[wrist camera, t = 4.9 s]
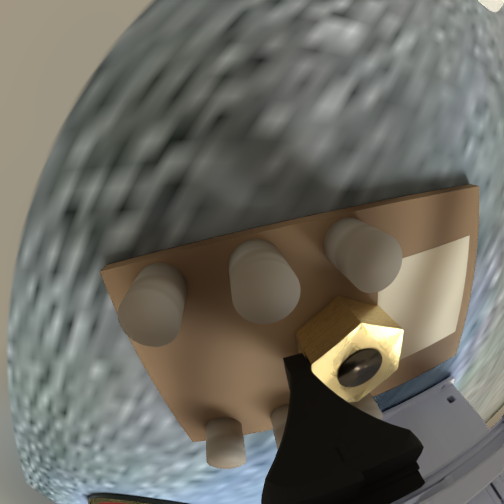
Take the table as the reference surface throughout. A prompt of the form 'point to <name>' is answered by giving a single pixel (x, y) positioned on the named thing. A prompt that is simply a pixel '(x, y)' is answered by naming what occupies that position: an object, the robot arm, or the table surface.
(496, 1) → the hook
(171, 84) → the table surface
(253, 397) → the board
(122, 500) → the decorative plate
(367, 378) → the brass nut
